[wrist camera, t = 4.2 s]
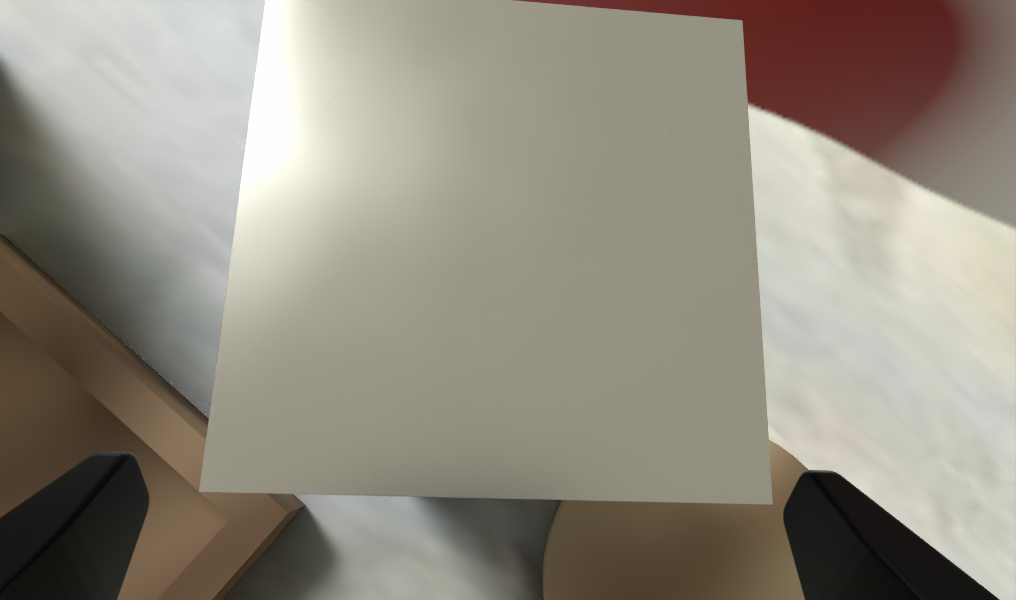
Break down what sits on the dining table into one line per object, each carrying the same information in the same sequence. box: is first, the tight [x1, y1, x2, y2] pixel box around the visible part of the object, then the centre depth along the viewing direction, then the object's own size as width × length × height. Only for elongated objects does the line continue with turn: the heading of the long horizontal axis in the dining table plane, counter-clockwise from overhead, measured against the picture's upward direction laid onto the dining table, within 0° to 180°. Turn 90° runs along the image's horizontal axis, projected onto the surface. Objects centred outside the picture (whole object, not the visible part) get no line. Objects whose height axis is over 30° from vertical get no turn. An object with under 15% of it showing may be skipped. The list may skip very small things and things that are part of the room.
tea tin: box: [199, 0, 773, 505], centre depth 12 cm, size 5×5×13 cm
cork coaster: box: [542, 440, 808, 600], centre depth 17 cm, size 9×9×1 cm
